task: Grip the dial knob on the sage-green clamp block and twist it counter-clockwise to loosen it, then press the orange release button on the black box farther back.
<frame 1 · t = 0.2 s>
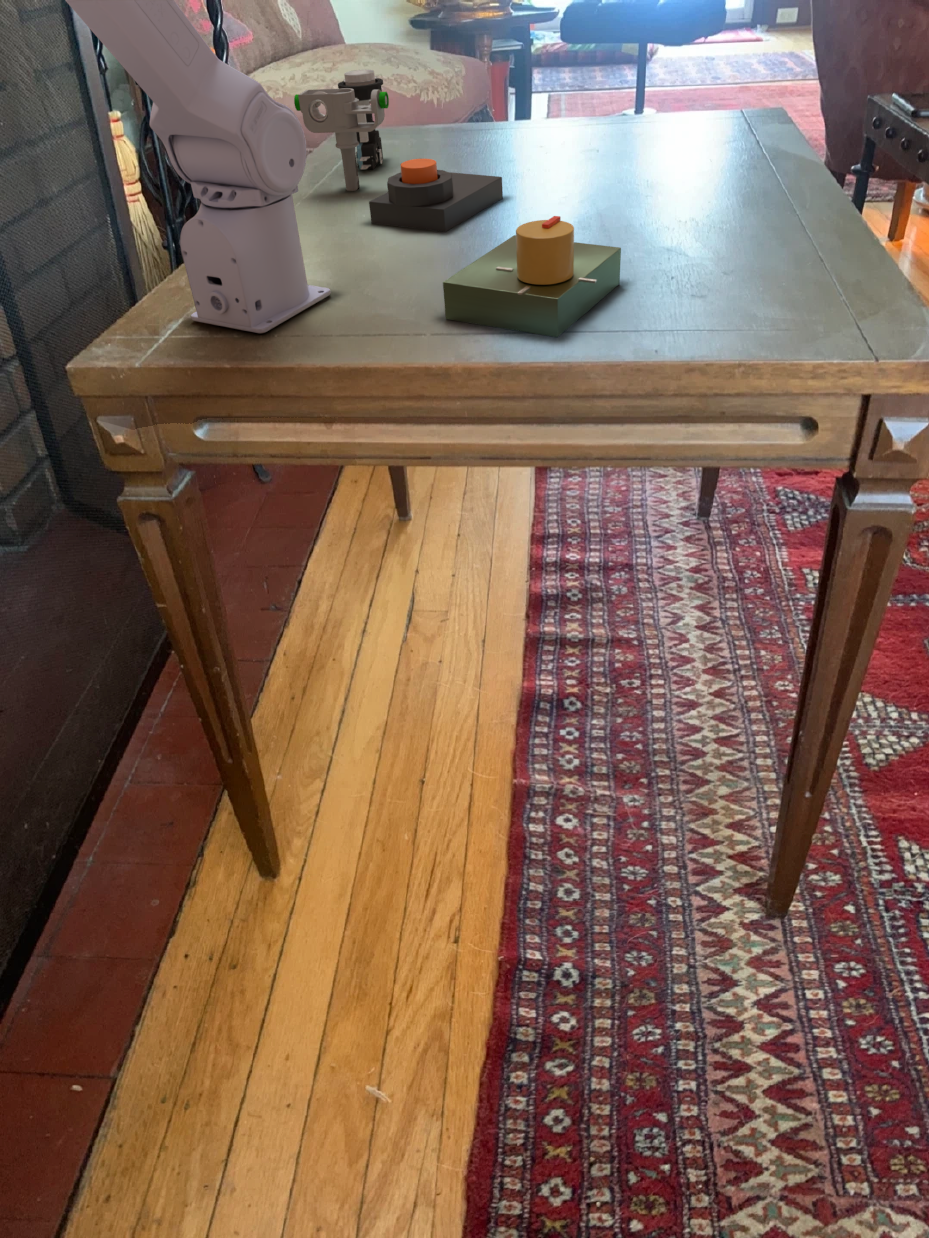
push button: (369, 168, 113), on the table
dial knob: (545, 250, 71), point 5 cm above the table, hinge at 0.0°
clamp block: (534, 301, 76), on the table
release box: (438, 211, 97), on the table
mechanical component: (353, 191, 106), on the table
release button: (419, 172, 92), point 4 cm above the table, slide at 0.1 cm
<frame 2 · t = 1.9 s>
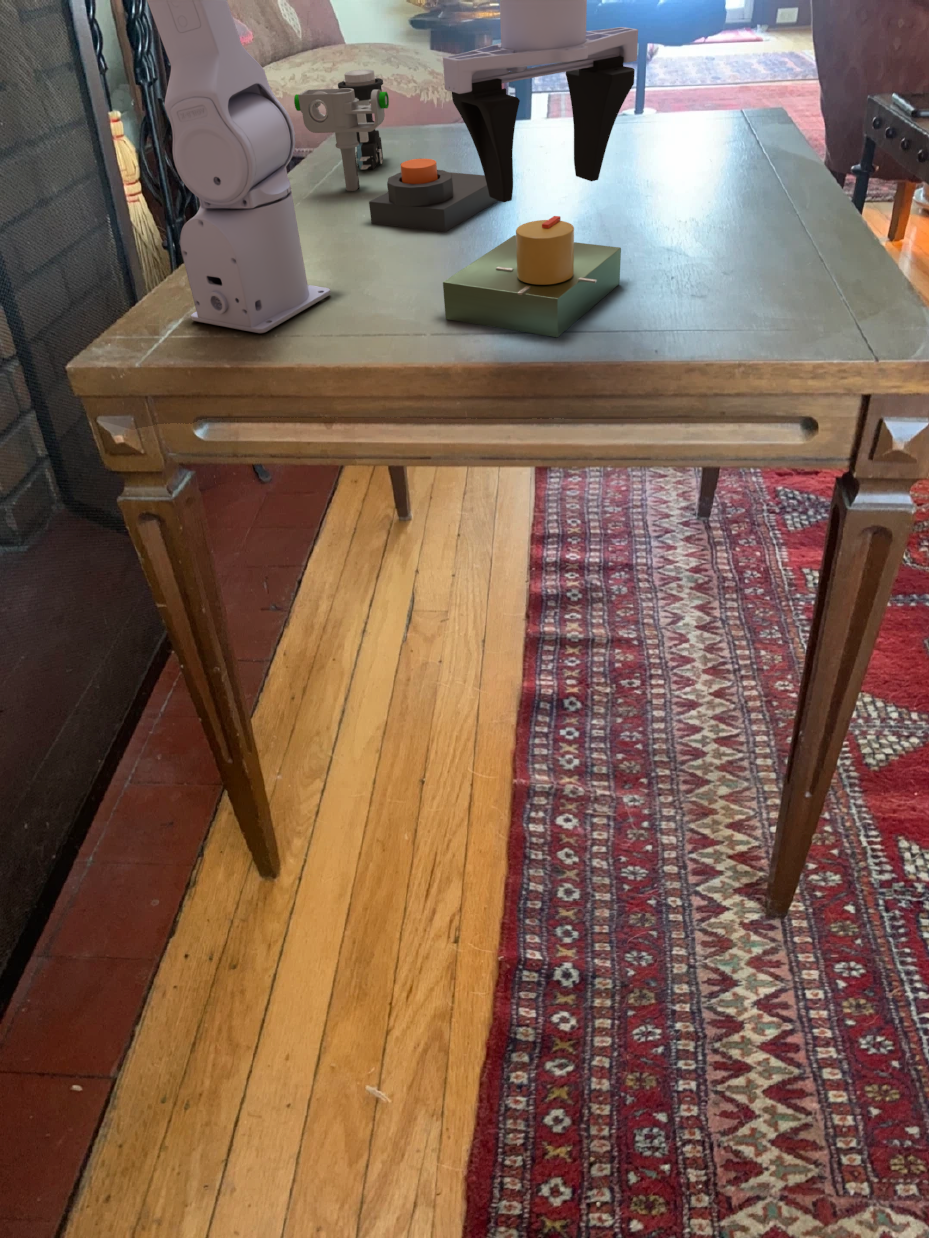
hand: (544, 188, 68), 9 cm above the table, tool pointing down, fingers open, 7 cm apart
nothing on the table moved.
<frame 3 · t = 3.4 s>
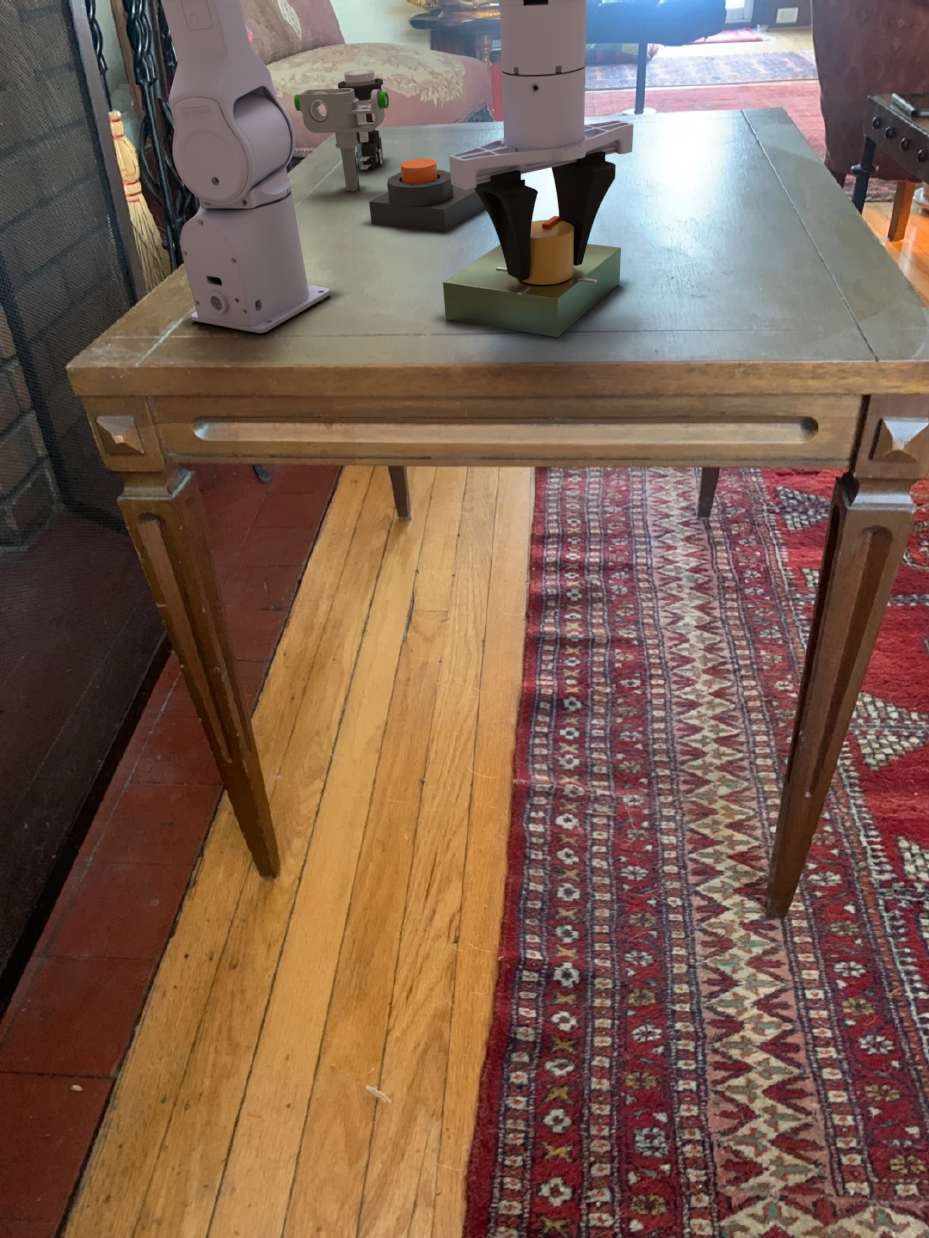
hand: (544, 269, 72), 4 cm above the table, tool pointing down, fingers closed on dial knob, 4 cm apart
dial knob: (545, 250, 71), point 5 cm above the table, hinge at -0.2°, touching gripper
everything else where it was.
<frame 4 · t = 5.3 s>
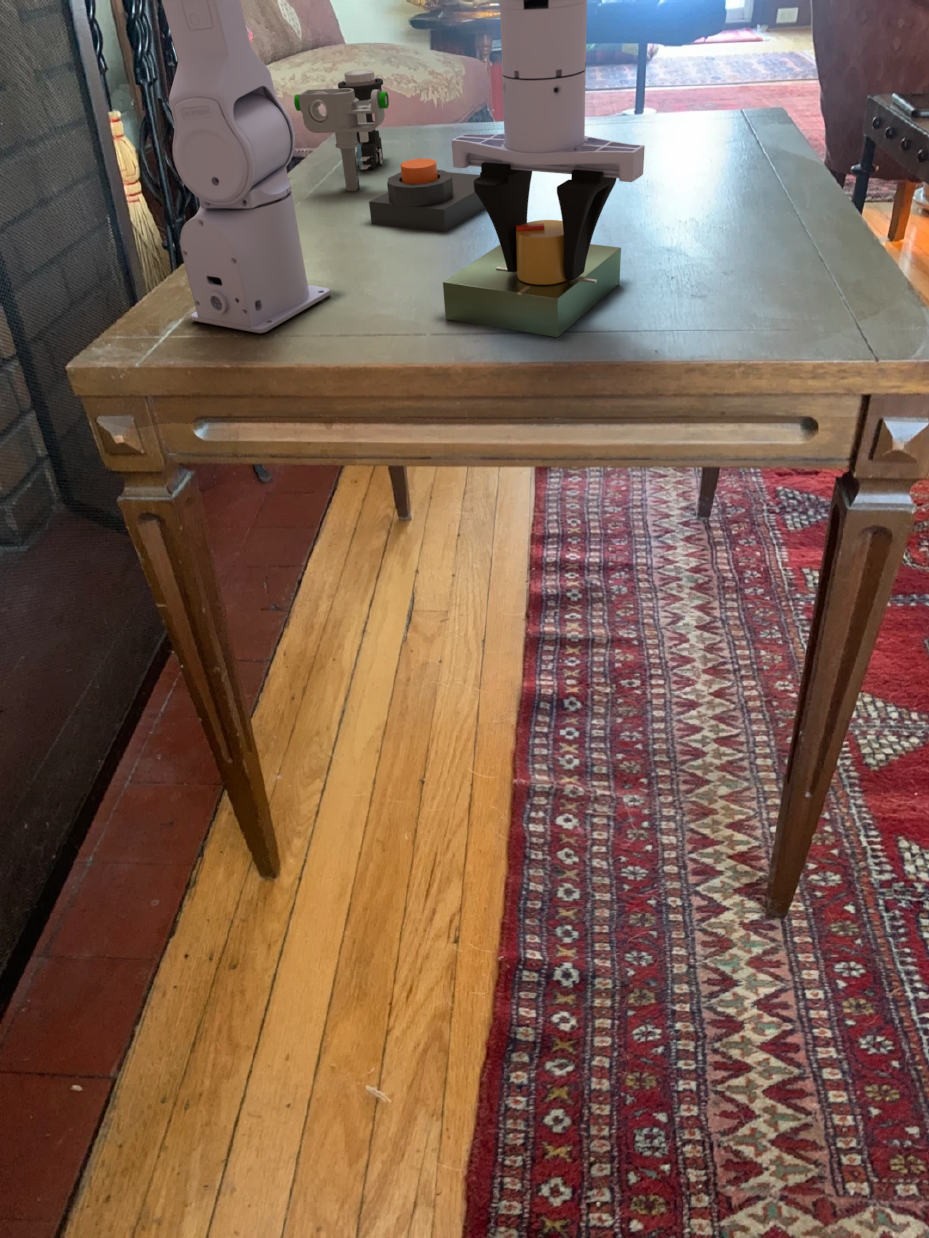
hand: (545, 272, 72), 3 cm above the table, tool pointing down, fingers closed on dial knob, 4 cm apart
dial knob: (545, 250, 71), point 5 cm above the table, hinge at 119.7°, touching gripper
everything else where it was.
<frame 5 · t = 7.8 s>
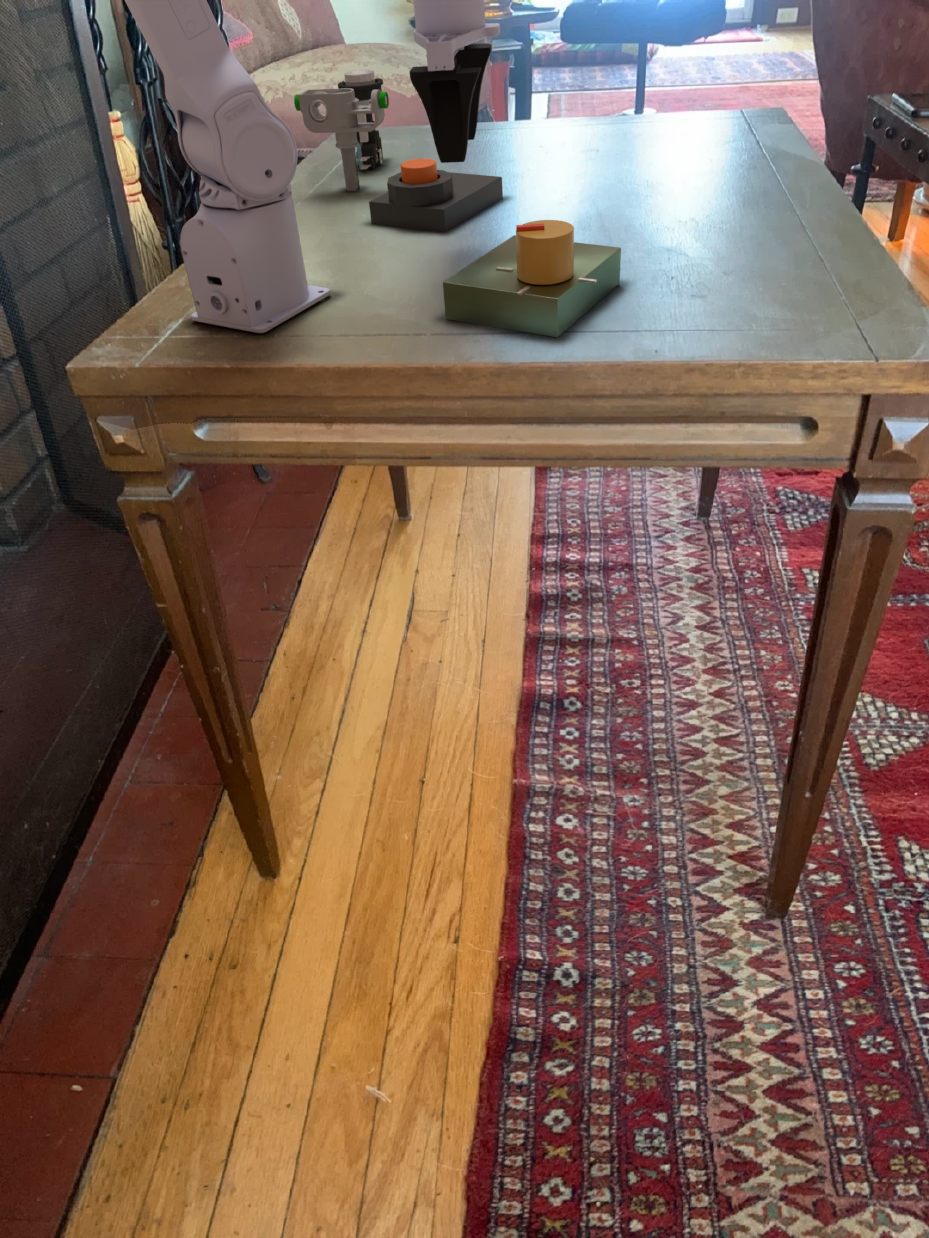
hand: (458, 150, 81), 9 cm above the table, tool pointing down, fingers open, 7 cm apart
dial knob: (545, 250, 71), point 5 cm above the table, hinge at 119.9°
everything else where it was.
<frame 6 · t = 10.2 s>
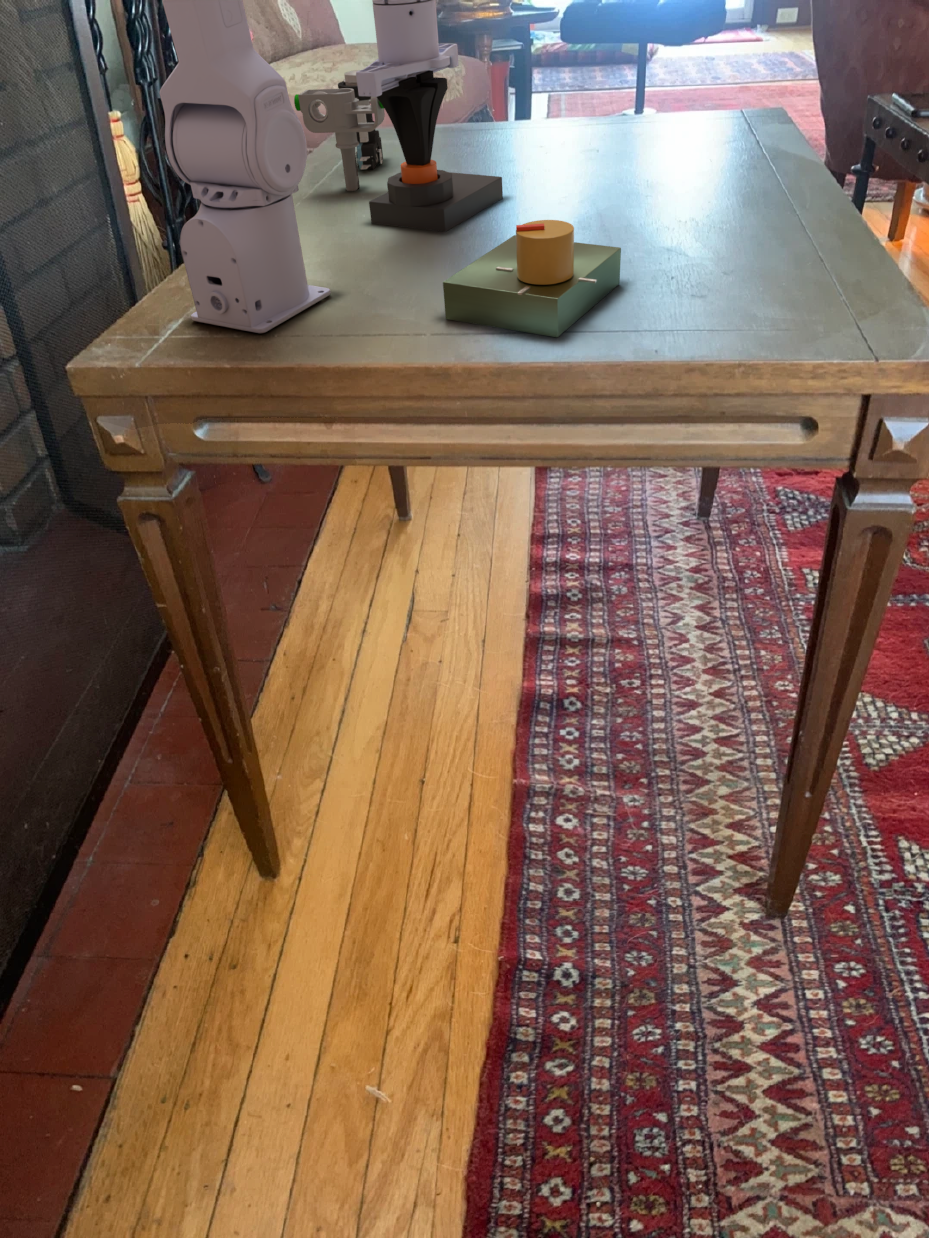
hand: (418, 163, 92), 5 cm above the table, tool pointing down, fingers closed, pressing on release button
release button: (419, 173, 92), point 4 cm above the table, slide at 0.1 cm, touching gripper
everything else where it was.
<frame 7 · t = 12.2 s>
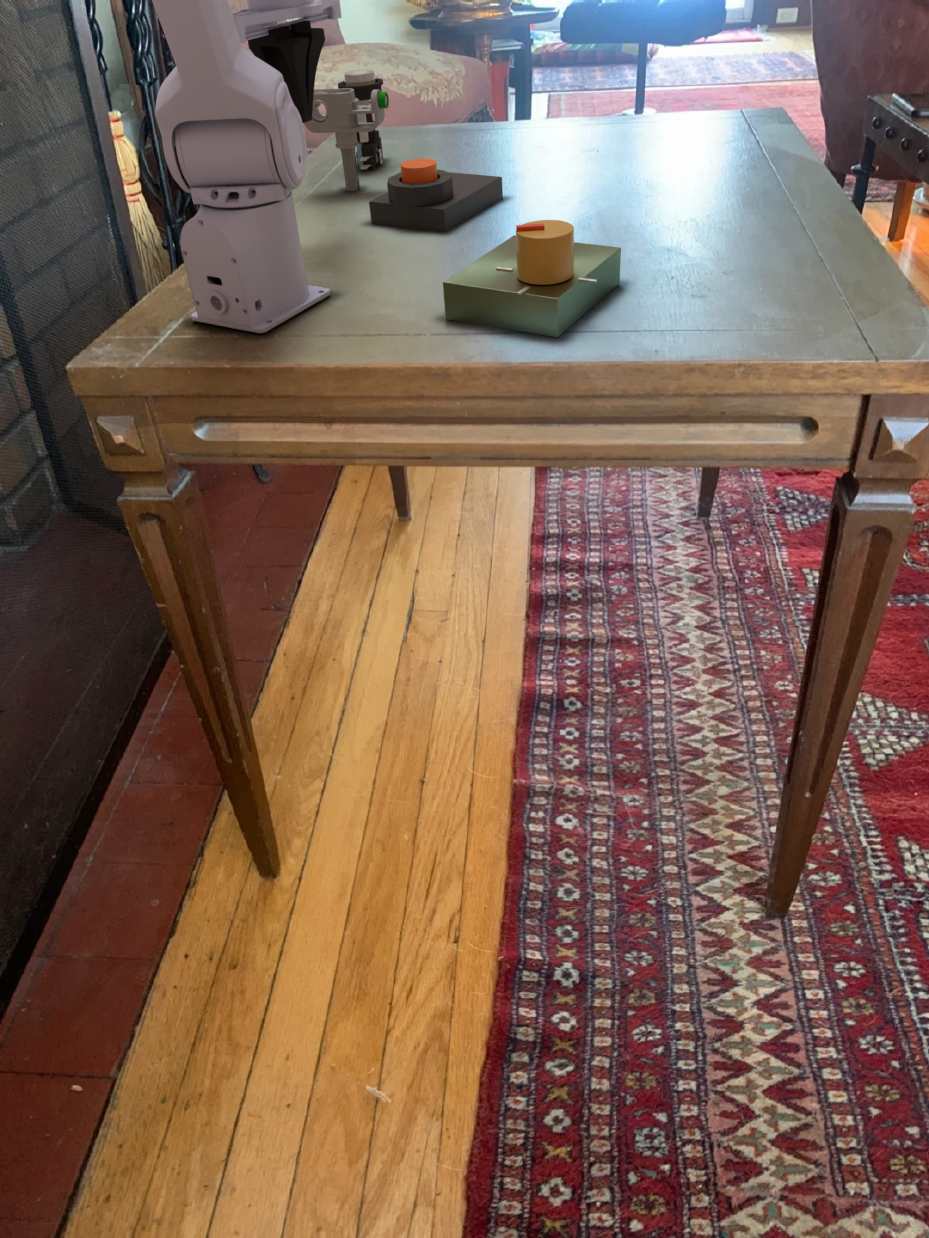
hand: (299, 121, 87), 10 cm above the table, tool pointing down, fingers closed
release button: (419, 172, 92), point 4 cm above the table, slide at 0.1 cm
everything else where it was.
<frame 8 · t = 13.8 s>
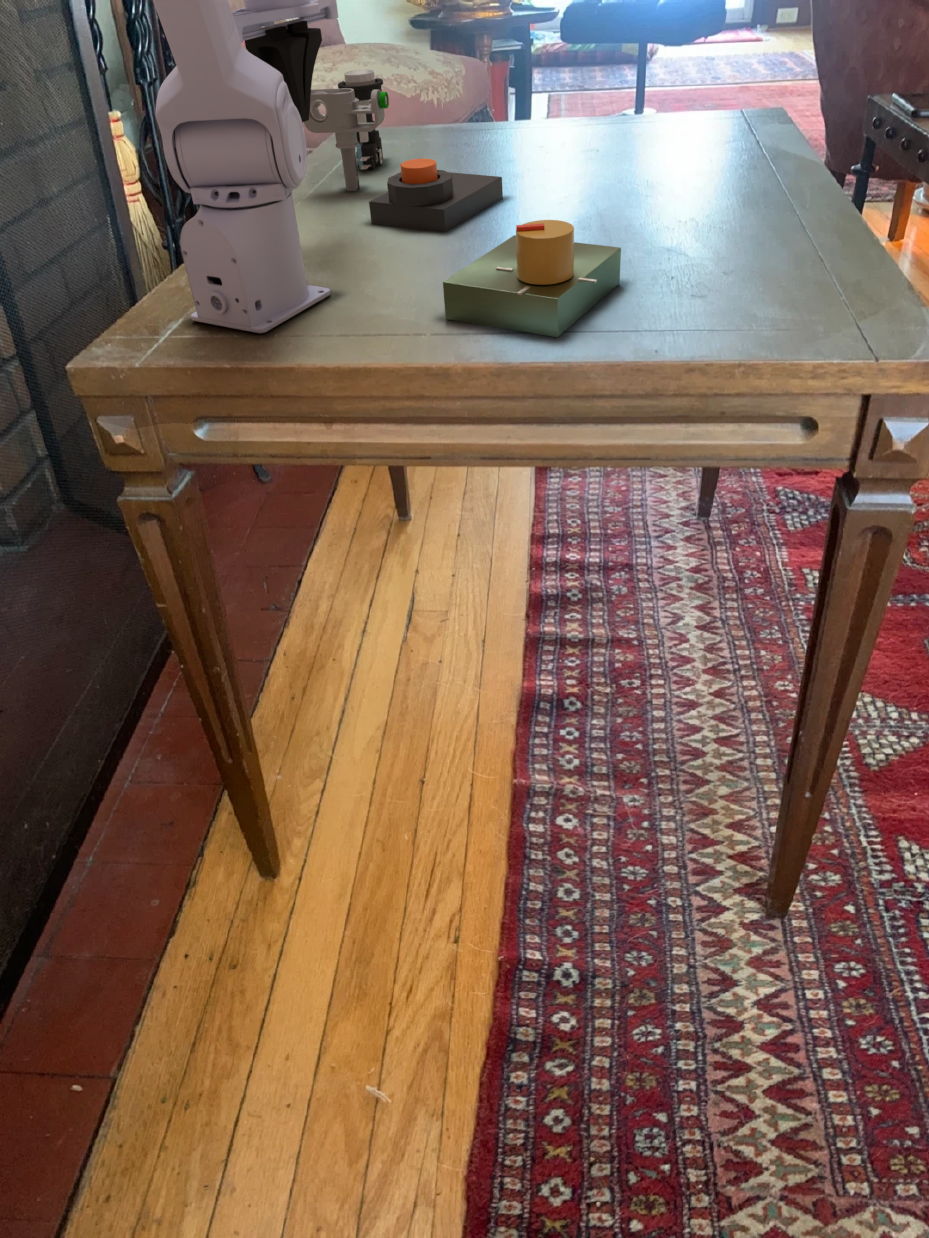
hand: (296, 121, 87), 10 cm above the table, tool pointing down, fingers closed
nothing on the table moved.
at the end: dial knob at +120° (first picture: +0°); release button pushed in 1.2 cm at the most during the clip, back to where it started at the end; release button slide at 0.1 cm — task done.
